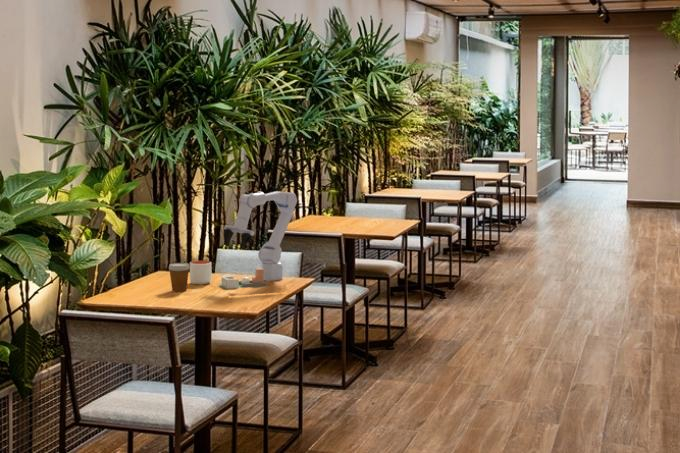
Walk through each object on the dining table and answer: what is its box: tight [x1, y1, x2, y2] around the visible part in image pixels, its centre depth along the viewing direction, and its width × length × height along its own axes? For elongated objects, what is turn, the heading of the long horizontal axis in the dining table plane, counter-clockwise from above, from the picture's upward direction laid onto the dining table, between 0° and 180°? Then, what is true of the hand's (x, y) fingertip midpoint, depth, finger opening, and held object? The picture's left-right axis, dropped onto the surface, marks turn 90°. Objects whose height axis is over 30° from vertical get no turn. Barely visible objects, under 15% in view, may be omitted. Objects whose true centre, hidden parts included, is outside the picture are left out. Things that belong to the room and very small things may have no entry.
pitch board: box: [217, 275, 269, 290], centre depth 468 cm, size 21×14×5 cm, turn 113°
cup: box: [189, 260, 212, 285], centre depth 476 cm, size 10×10×10 cm
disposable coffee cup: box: [168, 262, 190, 293], centre depth 457 cm, size 10×10×12 cm
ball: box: [240, 276, 250, 284], centre depth 466 cm, size 4×4×4 cm
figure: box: [251, 267, 265, 283], centre depth 468 cm, size 4×5×7 cm
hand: (234, 247), depth 464 cm, fingers open, 7 cm apart
